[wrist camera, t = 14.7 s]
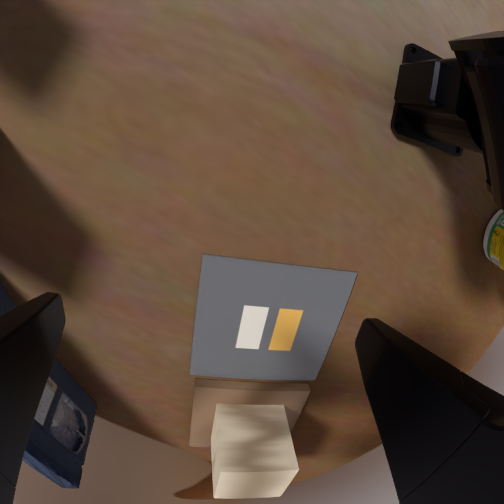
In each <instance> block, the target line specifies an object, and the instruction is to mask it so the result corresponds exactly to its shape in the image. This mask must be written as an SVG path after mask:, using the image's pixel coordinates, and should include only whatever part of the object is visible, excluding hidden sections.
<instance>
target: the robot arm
mask: <svg viewBox="0 0 504 504" xmlns="http://www.w3.org/2000/svg"><path fill="white" fill-rule="evenodd" d="M448 42H449V44H450V47H451V49H452V51H454V52H455V55H456V58H450V59H442V58H440V57H439V56H437V55H435V54H433V53H431V52H429V51H427V50H425V49H423V48H422V47H420V46H418V45H416V44H413V43H412V44H407V45H406V46H405V48H404V54H403V61H402V65H400V68H399V74H398V80H397V85H396V91H395V96H394V99H395V105H394V110H393V115H392V120H391V129H392V130H393V131H394V132H395V133H398V134H401V135H404V136H406V137H409V138H412V139H414V140H417V141H420V142H422V143H425V144H427V145H430V146H432V147H435V148H437V149H440V150H442V151H445V152H447V153H449V154H452V155H454V156H460V155H461V154H462V151H463V148H465V149H468V150H472V151H475V152H478V153H482V154H483V156H484V162H485V167H486V173H487V180H486V183H487V190H488V191H489V192H490V193H491V194H492V195H493V197H494V201H495V202H496V203H497V204H498V205H499V207H500V208H501V209H502V210H503V211H504V31H496V32H490V33H485V34H479V35H474V36H469V37H464V38H460V39H455V40H451V41H448ZM411 48H412V49H413V52H414V53H412V52H411ZM398 122H399V123H400V128H399V129H398V128H397V123H398ZM456 147H457V151H456ZM64 326H65V313H64V308H63V303H62V298H61V296H60V294H58V293H52V292H46V293H44V294H42V295H40V296H38V297H36V298H34V299H32V300H30V301H28V302H26V303H24V304H22V305H20V306H18V307H16V308H14V309H12V310H11V311H9V312H7V313H5V314H3V315H1V316H0V504H13V499H14V494H15V489H16V488H15V487H16V484H17V479H18V475H19V471H20V467H21V463H22V459H23V455H24V452H25V448H26V444H27V441H28V438H29V434H30V431H31V428H32V424H33V421H34V418H35V415H36V412H37V409H38V406H39V403H40V400H41V397H42V394H43V392H44V389H45V386H46V383H47V381H48V378H49V375H50V373H51V370H52V367H53V364H54V360H55V357H56V353H57V350H58V346H59V342H60V339H61V336H62V332H63V329H64ZM355 348H356V352H357V356H358V361H359V365H360V370H361V374H362V379H363V383H364V387H365V390H366V393H367V396H368V399H369V402H370V406H371V409H372V412H373V415H374V418H375V421H376V424H377V427H378V431H379V434H380V437H381V440H382V443H383V447H384V450H385V453H386V457H387V460H388V463H389V467H390V470H391V474H392V478H393V481H394V485H395V488H396V492H397V496H398V499H399V501H400V502H399V504H504V396H503V395H501V394H499V393H498V392H496V391H494V390H492V389H490V388H489V387H487V386H485V385H483V384H482V383H480V382H478V381H477V380H475V379H473V378H472V377H470V376H468V375H467V374H465V373H464V372H460V370H459V369H457V368H456V367H454V366H452V365H451V364H449V363H448V362H446V361H445V360H443V359H441V358H440V357H438V356H437V355H435V354H433V353H432V352H430V351H429V350H427V349H425V348H424V347H422V346H421V345H419V344H417V343H416V342H414V341H413V340H411V339H409V338H408V337H406V336H405V335H403V334H401V333H400V332H398V331H397V330H395V329H393V328H392V327H390V326H389V325H387V324H385V323H384V322H382V321H380V320H379V319H376V318H366V319H364V321H363V322H362V325H361V327H360V330H359V332H358V335H357V337H356V340H355Z"/></svg>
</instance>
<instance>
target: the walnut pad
mask: <svg viewBox="0 0 504 504" xmlns="http://www.w3.org/2000/svg"><path fill="white" fill-rule="evenodd" d="M310 392H311V391H310V387H309V384H308V383H260V382H239V381H223V380H210V379H198V378H195V385H194V395H193V405H192V416H191V427H190V438H189V446H196V447H211V435H212V429H213V423H214V417H215V411H216V405H217V403H220V404H243V405H284V408H285V413H286V417H287V421H288V425H289V429H290V433H291V431H292V429H293V427H294V425H295V423H296V421H297V419H298V417H299V415H300V413H301V411H302V409H303V407H304V404H305V402H306V400H307V398H308V396H309V394H310Z"/></svg>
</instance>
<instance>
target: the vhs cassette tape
mask: <svg viewBox="0 0 504 504" xmlns="http://www.w3.org/2000/svg"><path fill="white" fill-rule="evenodd" d="M14 308H16V305H15V304H14V302H13V301H12V299H11V298H10V296H9V295H8V293H7V292H6V290H5V289H4V287H3V286H2V284H1V282H0V316H1V315H3V314H5V313H7V312H9V311H11V310H12V309H14ZM96 409H97V404H96V403H95V402H94V401H93V400H92V399H91V398H90V396H89V395H88V394H87V393H86V392H85V391H84V390H83V389H82V388H81V387H80V386H79V385H78V384H77V382H76V381H75V380H74V379H73V378H72V377H71V376H70V375H69V373H68V372H67V371H66V370H65V369H64V368H63V366H62V365H61V364H60V363H59V362H58V361H57V359H56V358H55V360H54V364H53V367H52V370H51V373H50V375H49V378H48V381H47V383H46V386H45V389H44V392H43V394H42V397H41V400H40V403H39V406H38V409H37V412H36V415H35V418H34V421H33V424H32V428H31V431H30V434H29V438H28V441H27V444H26V448H25V452H24V455H23V459H22V460H23V461H24V462H25V463H27V464H28V465H30V466H31V467H33V468H34V469H35V470H37V471H38V472H40V473H41V474H43V475H44V476H46V477H47V478H49V479H50V480H51V481H53V482H54V483H56V484H57V485H59V486H60V487H62V488H79V484H80V480H81V475H82V467H81V466H82V465H84V461H85V455H86V450H87V447H88V443H89V439H90V435H91V431H92V426H93V423H94V417H95V413H96Z"/></svg>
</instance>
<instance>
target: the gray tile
mask: <svg viewBox="0 0 504 504" xmlns="http://www.w3.org/2000/svg"><path fill="white" fill-rule="evenodd" d="M356 276H357V272H350V271H341V270H333V269H324V268H315V267H307V266H298V265H290V264H281V263H273V262H264V261H256V260H248V259H240V258H231V257H223V256H215V255H207V254H203V258H202V266H201V273H200V281H199V290H198V298H197V307H196V316H195V325H194V334H193V344H192V354H191V365H190V375H200V376H211V377H224V378H240V379H261V380H315V379H316V377H317V375H318V373H319V370H320V368H321V366H322V364H323V361H324V359H325V357H326V354H327V352H328V349H329V347H330V345H331V342H332V340H333V337H334V335H335V332H336V330H337V327H338V325H339V322H340V320H341V317H342V314H343V312H344V309H345V307H346V304H347V301H348V299H349V296H350V293H351V290H352V288H353V285H354V282H355V279H356Z"/></svg>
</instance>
